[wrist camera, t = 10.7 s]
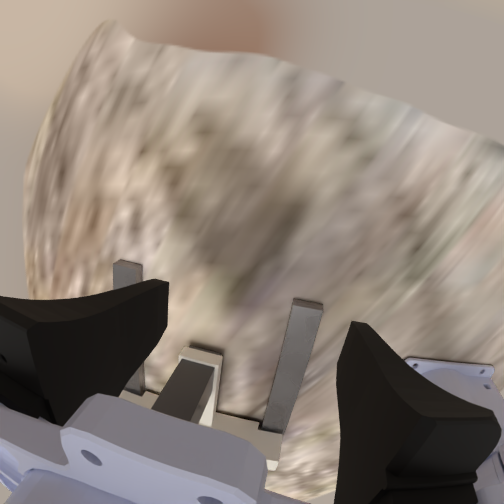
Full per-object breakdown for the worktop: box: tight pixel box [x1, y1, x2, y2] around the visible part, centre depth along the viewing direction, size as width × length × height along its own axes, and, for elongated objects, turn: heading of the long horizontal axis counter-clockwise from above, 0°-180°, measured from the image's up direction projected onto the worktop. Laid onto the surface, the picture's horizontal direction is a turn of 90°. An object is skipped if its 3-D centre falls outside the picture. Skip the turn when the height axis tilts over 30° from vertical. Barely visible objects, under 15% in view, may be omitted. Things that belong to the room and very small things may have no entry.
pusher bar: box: [119, 346, 283, 471], centre depth 21 cm, size 15×8×8 cm, turn 81°
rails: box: [113, 260, 323, 435], centre depth 25 cm, size 15×17×1 cm
